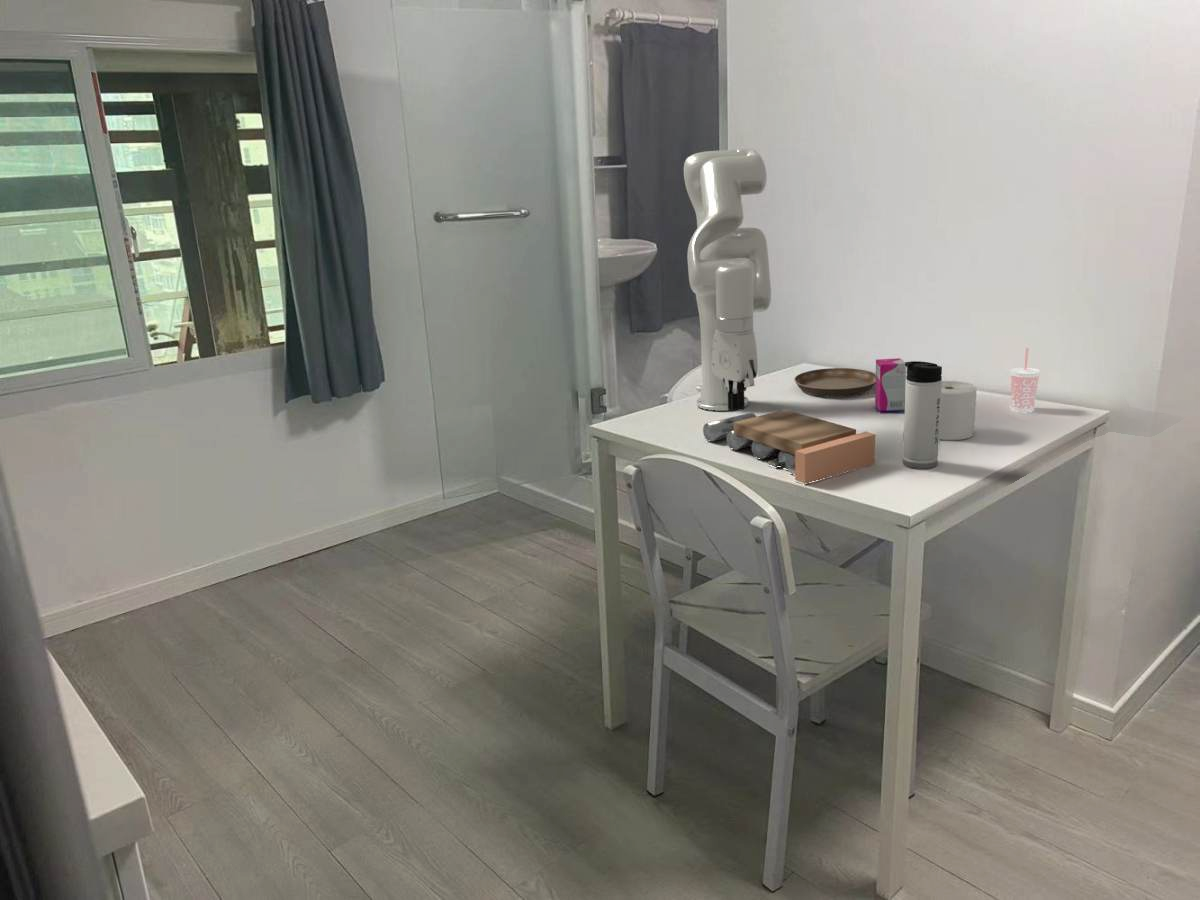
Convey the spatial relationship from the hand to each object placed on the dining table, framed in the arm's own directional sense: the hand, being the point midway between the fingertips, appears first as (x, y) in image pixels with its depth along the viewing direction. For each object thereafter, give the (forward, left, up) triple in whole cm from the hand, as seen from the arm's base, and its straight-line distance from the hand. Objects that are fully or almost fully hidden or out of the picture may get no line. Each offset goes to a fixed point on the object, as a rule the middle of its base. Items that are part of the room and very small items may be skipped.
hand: (736, 409), depth 197 cm
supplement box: (+7, +40, -7) cm, 41 cm away
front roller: (+14, 0, -6) cm, 15 cm away
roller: (+22, 0, -6) cm, 23 cm away
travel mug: (+37, +15, -7) cm, 40 cm away
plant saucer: (-15, +45, -7) cm, 48 cm away
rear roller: (-1, 0, -6) cm, 6 cm away
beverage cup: (+27, +60, -7) cm, 66 cm away
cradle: (+23, 0, -6) cm, 23 cm away
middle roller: (+6, 0, -6) cm, 9 cm away
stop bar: (+30, 0, -6) cm, 30 cm away
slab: (+17, 0, -3) cm, 18 cm away
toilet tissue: (+27, +34, -7) cm, 43 cm away
